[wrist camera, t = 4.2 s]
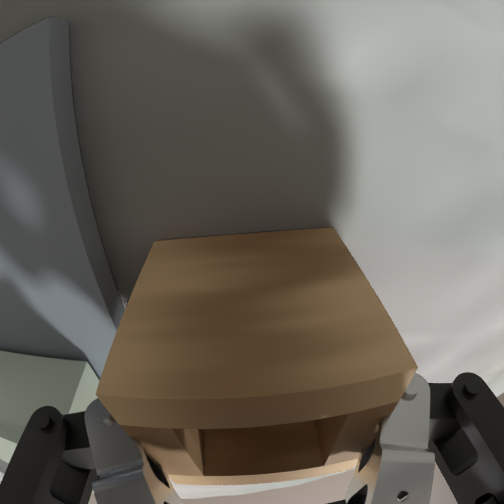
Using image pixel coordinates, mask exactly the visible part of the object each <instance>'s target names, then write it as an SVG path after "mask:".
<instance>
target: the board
mask: <svg viewBox="0 0 504 504" xmlns="http://www.w3.org/2000/svg"><path fill="white" fill-rule="evenodd" d="M124 311H125V309H124V307H123V304H122V302H121V299H120V296H119V293H118V291H117V288H116V285H115V282H114V279H113V276H112V273H111V270H110V267H109V264H108V261H107V258H106V255H105V251H104V248H103V245H102V241H101V238H100V234H99V231H98V227H97V224H96V220H95V216H94V212H93V208H92V204H91V200H90V196H89V192H88V187H87V183H86V178H85V173H84V168H83V163H82V158H81V152H80V147H79V141H78V134H77V128H76V121H75V113H74V105H73V95H72V84H71V71H70V51H69V22H68V21H65V20H61V19H58V18H55V17H51V16H49V17H47V18H45V19H43V20H41V21H39V22H37V23H35V24H33V25H31V26H30V27H28V28H26V29H24V30H22V31H20V32H19V33H17V34H15V35H13V36H12V37H10V38H8V39H7V40H5V41H3V42H2V43H0V351H6V352H12V353H18V354H24V355H31V356H39V357H47V358H55V359H64V360H75V361H87V362H88V364H89V365H90V367H91V368H92V370H93V372H94V373H95V375H96V376H97V378H98V379H99V381H100V378H101V375H102V372H103V369H104V366H105V363H106V360H107V357H108V354H109V351H110V349H111V346H112V343H113V340H114V337H115V335H116V332H117V329H118V327H119V324H120V321H121V319H122V316H123V314H124Z"/></svg>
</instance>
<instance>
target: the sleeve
mask: <svg viewBox="0 0 504 504" xmlns="http://www.w3.org/2000/svg"><path fill="white" fill-rule="evenodd" d="M417 368H418V367H417V365H416V363H415V361H414V359H413V357H412V356H411V354H410V352H409V350H408V348H407V346H406V345H405V343H404V341H403V339H402V337H401V336H400V334H399V332H398V330H397V328H396V327H395V325H394V323H393V321H392V320H391V318H390V316H389V315H388V313H387V311H386V309H385V308H384V306H383V304H382V303H381V301H380V299H379V298H378V296H377V294H376V293H375V291H374V290H373V288H372V286H371V285H370V283H369V281H368V280H367V278H366V277H365V275H364V273H363V272H362V270H361V269H360V267H359V266H358V264H357V263H356V261H355V259H354V258H353V256H352V255H351V253H350V252H349V250H348V249H347V247H346V246H345V244H344V243H343V241H342V240H341V238H340V237H339V235H338V234H337V232H336V231H335V229H334V228H333V227H332V228H316V229H301V230H286V231H272V232H258V233H245V234H232V235H220V236H207V237H195V238H184V239H172V240H161V241H154V243H153V245H152V248H151V250H150V252H149V254H148V256H147V259H146V261H145V263H144V265H143V268H142V270H141V272H140V275H139V277H138V279H137V282H136V284H135V286H134V289H133V291H132V294H131V296H130V299H129V301H128V304H127V306H126V309H125V311H124V314H123V316H122V319H121V321H120V324H119V327H118V329H117V332H116V335H115V337H114V340H113V343H112V346H111V349H110V351H109V354H108V357H107V360H106V363H105V366H104V369H103V372H102V375H101V378H100V381H99V384H98V387H97V391H96V396H97V397H98V399H99V400H100V401H101V402H102V404H103V405H104V406H105V408H106V409H107V410H108V412H109V413H110V414H111V415H112V417H113V418H114V419H115V420H116V421H117V423H118V424H119V425H120V426H121V427H122V429H123V430H124V431H125V432H126V433H127V434H128V436H133V437H136V439H137V440H138V441H139V442H140V443H141V444H142V447H143V450H144V452H145V454H146V455H147V456H148V457H149V458H150V459H151V460H152V461H153V462H154V463H155V464H160V465H161V466H162V467H163V468H164V469H165V471H166V473H167V475H168V477H169V478H170V479H171V480H172V481H173V482H175V483H176V484H189V485H243V484H259V483H271V482H280V481H289V480H296V479H303V478H309V477H315V476H321V475H326V474H331V473H336V472H341V471H345V470H349V469H353V468H354V467H355V465H356V464H357V462H358V458H359V454H360V452H361V450H362V449H363V447H367V446H370V445H371V444H372V442H373V441H374V440H375V438H376V435H377V430H378V425H379V423H380V421H381V420H382V418H383V416H386V415H390V414H392V412H393V411H394V409H395V407H396V406H397V404H398V402H399V401H400V399H401V397H402V396H403V394H404V392H405V390H406V389H407V387H408V385H409V383H410V382H411V380H412V378H413V376H414V374H415V372H416V370H417Z"/></svg>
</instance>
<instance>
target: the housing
mask: <svg viewBox="0 0 504 504" xmlns="http://www.w3.org/2000/svg"><path fill="white" fill-rule="evenodd" d="M98 384H99V379H98V378H97V376H96V375H95V373H94V372H93V370H92V368H91V367H90V365H89V364H88V362H87V361H75V360H64V359H55V358H47V357H39V356H31V355H24V354H18V353H12V352H6V351H0V459H1V460H3V461H5V462H7V463H9V462H10V460H11V457H12V455H13V453H14V451H15V448H16V446H17V444H18V442H19V440H20V438H21V436H22V433H23V431H24V429H25V427H26V425H27V423H28V421H29V419H30V417H31V416H32V414H33V413H34V412H35V411H36V410H37V409H39V408H40V407H43V406H52V407H55V408H56V409H58V410H59V411H60V413H61V414H62V415H65V414H71V413H77V412H82V411H86V409H87V407H88V405H89V404H90V403H91V402H92V401H94V400H95V399H97V398H98V397H97V396H96V391H97V387H98ZM92 493H93V494H94V492H93V490H92Z"/></svg>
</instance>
